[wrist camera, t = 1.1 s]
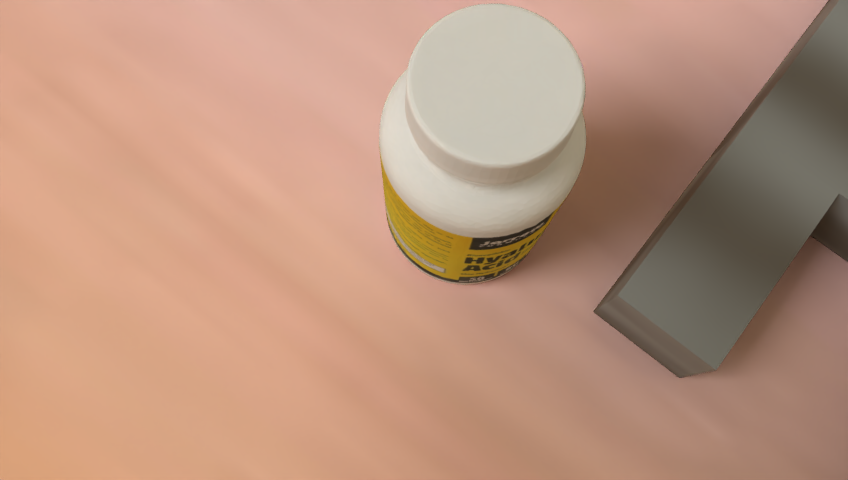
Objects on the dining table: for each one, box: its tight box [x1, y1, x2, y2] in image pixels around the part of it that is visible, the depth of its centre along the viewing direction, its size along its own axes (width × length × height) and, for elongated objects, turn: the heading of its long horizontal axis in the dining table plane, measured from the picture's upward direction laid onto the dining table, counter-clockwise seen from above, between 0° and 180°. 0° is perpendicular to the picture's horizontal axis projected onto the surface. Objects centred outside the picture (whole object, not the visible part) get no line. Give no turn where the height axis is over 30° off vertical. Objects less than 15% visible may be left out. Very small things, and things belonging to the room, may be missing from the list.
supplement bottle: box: [379, 4, 586, 285], centre depth 20 cm, size 5×5×10 cm
